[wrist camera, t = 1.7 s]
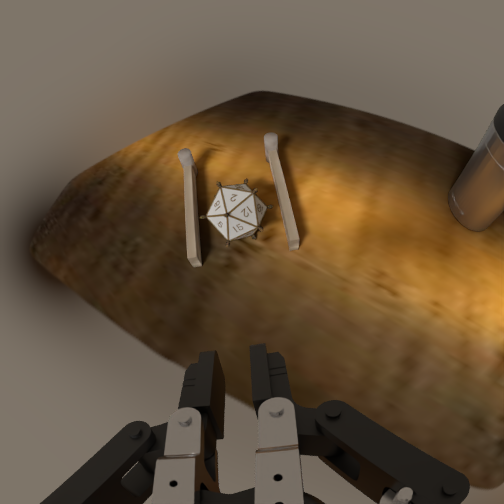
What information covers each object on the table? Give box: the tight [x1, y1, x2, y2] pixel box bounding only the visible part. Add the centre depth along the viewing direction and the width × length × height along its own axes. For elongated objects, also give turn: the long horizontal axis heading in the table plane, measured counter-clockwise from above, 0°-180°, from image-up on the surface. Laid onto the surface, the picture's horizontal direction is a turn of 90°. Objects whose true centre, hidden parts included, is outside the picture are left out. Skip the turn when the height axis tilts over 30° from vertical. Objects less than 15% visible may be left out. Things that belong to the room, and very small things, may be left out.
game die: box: [199, 179, 273, 248], centre depth 41 cm, size 9×8×10 cm
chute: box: [178, 133, 299, 267], centre depth 44 cm, size 15×18×5 cm
